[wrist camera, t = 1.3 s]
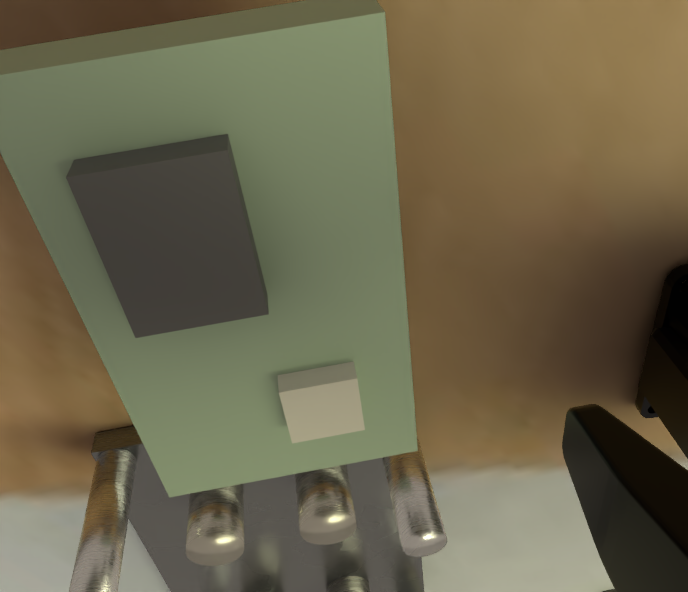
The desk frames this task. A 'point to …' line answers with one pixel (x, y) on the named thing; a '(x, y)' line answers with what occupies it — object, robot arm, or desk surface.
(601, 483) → the robot arm
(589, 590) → the desk surface
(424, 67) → the desk surface
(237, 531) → the chassis
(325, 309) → the board
